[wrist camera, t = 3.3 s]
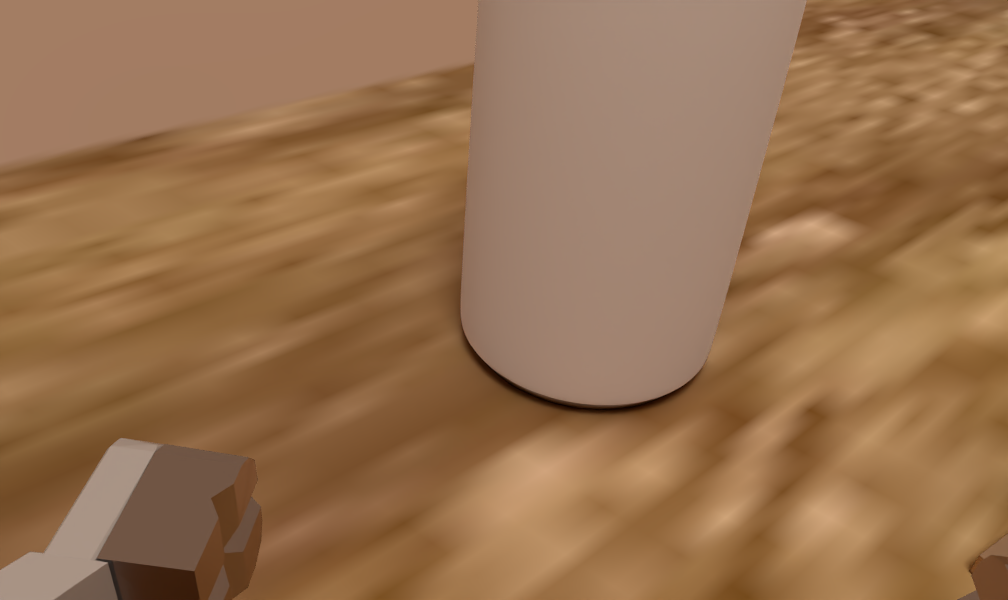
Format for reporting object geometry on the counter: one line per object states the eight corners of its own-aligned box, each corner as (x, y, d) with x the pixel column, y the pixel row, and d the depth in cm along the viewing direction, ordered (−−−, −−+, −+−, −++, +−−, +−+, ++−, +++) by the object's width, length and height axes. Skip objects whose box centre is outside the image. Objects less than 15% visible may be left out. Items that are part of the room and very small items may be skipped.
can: (573, 234, 28) (639, -221, 21) (757, 342, 24) (914, -160, 17) (406, 319, 24) (416, -204, 17) (596, 462, 21) (711, -121, 13)
